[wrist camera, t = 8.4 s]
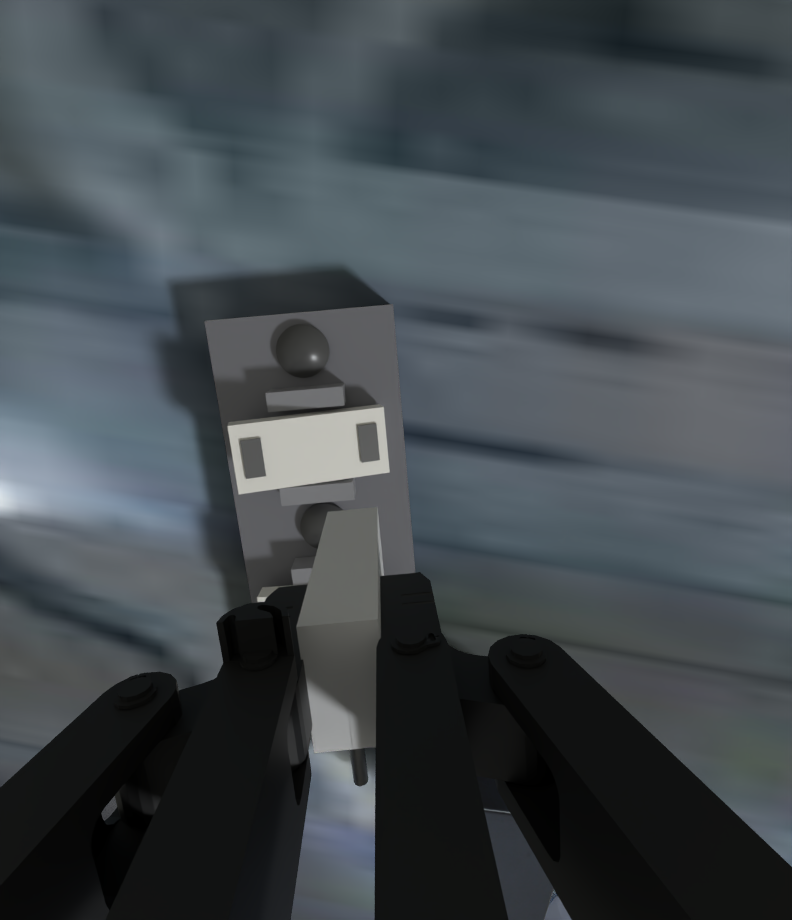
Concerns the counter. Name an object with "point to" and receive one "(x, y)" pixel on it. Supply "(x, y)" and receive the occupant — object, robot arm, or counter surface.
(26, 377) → the counter surface
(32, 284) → the counter surface
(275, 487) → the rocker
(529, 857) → the small box
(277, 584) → the power strip
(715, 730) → the counter surface
